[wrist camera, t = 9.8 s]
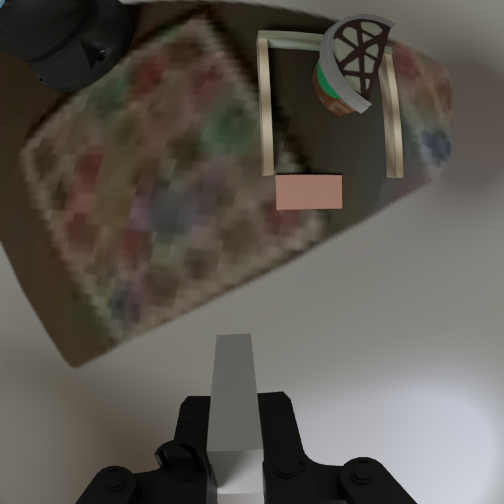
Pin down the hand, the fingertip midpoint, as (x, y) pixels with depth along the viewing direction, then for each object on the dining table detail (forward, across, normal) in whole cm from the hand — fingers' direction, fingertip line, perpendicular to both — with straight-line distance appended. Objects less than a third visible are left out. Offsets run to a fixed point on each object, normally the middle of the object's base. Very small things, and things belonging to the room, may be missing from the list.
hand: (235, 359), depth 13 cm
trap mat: (+22, +9, +6) cm, 25 cm away
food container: (+23, +12, +21) cm, 33 cm away
